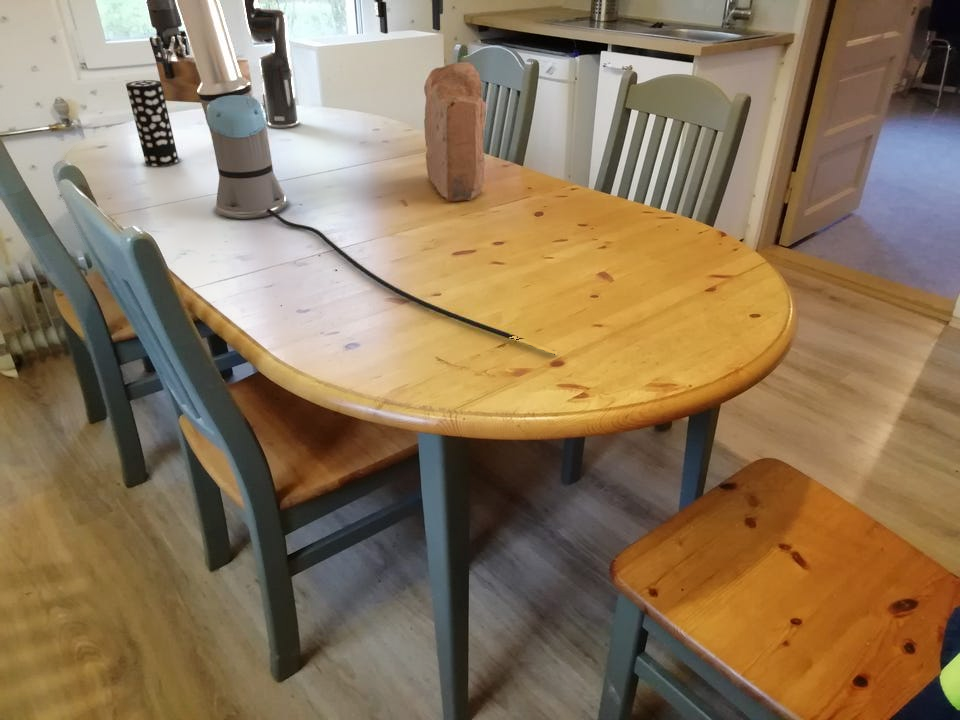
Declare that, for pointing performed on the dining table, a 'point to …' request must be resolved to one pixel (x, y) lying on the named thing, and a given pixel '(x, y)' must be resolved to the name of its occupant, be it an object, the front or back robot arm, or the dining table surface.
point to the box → (189, 79)
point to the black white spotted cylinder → (152, 122)
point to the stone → (455, 131)
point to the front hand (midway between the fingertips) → (410, 31)
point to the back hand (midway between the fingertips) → (177, 76)
